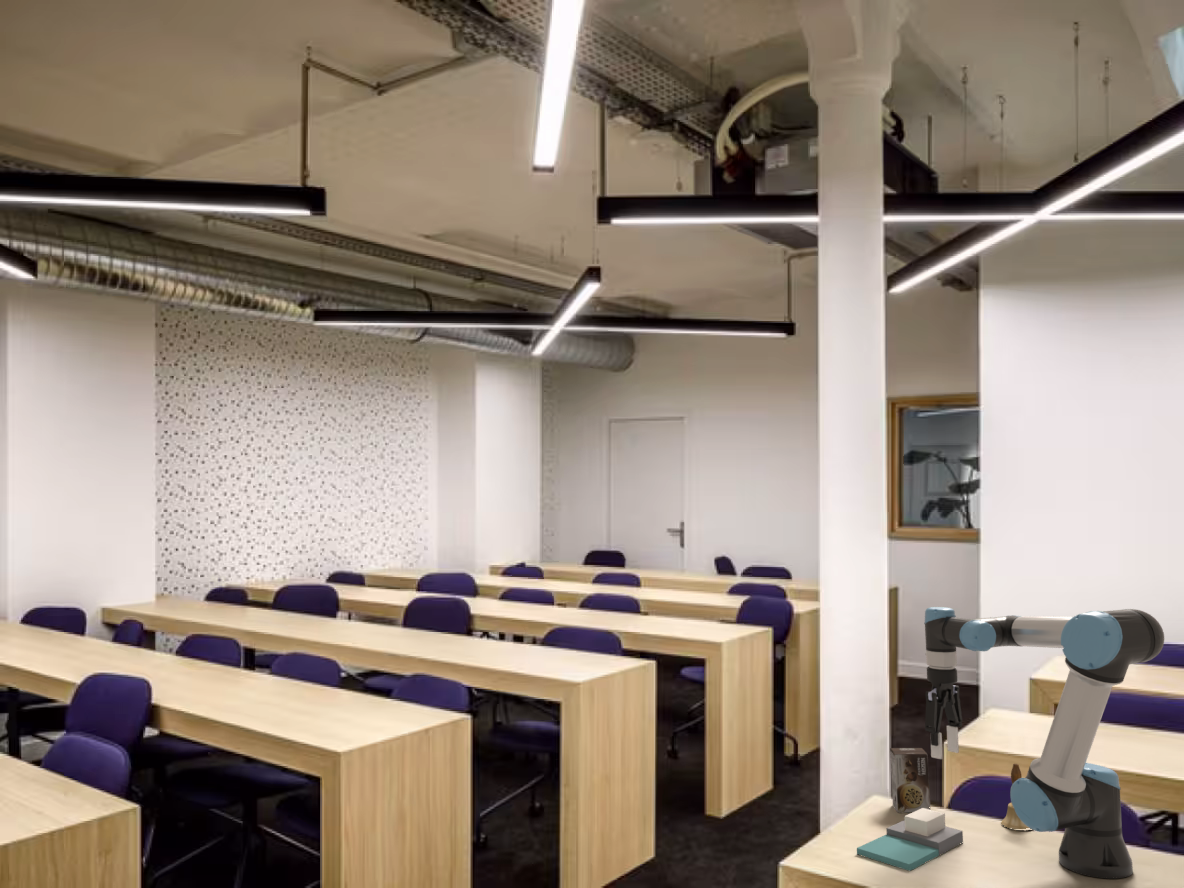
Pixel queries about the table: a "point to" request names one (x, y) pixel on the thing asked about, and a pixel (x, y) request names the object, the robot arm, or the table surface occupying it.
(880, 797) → the table surface
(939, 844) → the plate
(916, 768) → the coffee box
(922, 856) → the mat
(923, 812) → the white rectangular block
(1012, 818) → the hand bell
